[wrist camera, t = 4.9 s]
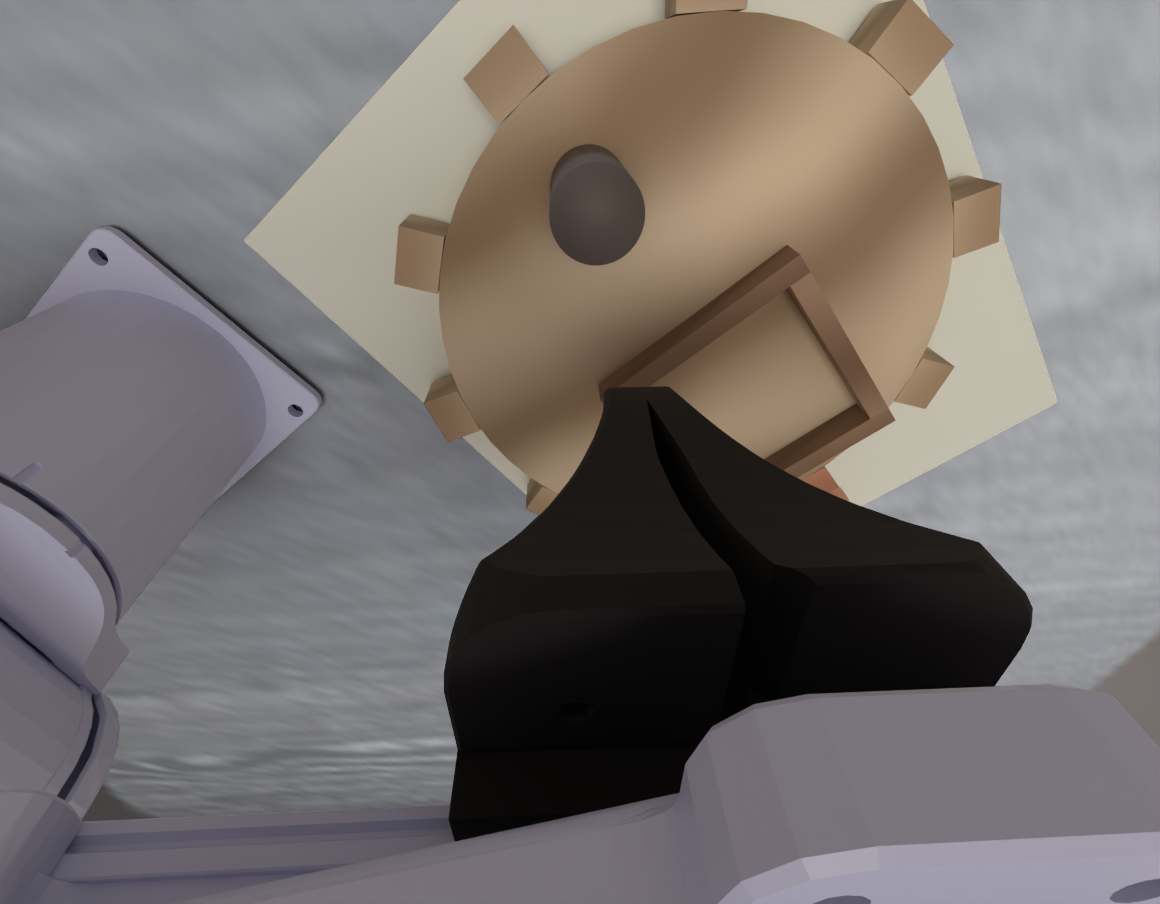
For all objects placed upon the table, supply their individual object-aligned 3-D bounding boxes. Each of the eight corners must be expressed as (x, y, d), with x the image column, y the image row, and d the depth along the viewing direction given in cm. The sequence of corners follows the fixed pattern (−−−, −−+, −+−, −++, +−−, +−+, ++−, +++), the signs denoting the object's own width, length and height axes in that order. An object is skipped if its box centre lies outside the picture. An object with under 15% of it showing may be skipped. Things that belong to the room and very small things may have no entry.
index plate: (654, 597, 27) (660, 627, 26) (258, 232, 17) (230, 247, 16) (1038, 389, 22) (1074, 413, 20) (780, -344, 11) (814, -406, 10)
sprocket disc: (289, 272, 17) (204, 338, 13) (799, -276, 11) (942, -478, 7) (630, 575, 25) (645, 676, 21) (1029, 343, 19) (1159, 417, 15)
